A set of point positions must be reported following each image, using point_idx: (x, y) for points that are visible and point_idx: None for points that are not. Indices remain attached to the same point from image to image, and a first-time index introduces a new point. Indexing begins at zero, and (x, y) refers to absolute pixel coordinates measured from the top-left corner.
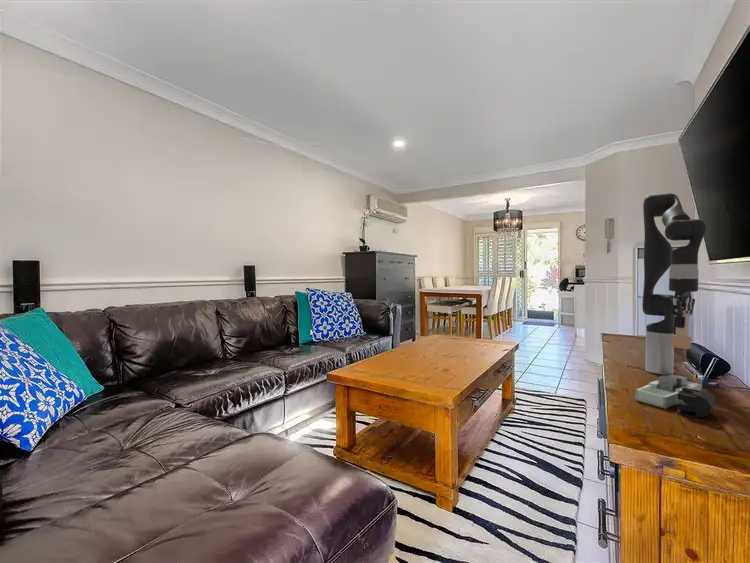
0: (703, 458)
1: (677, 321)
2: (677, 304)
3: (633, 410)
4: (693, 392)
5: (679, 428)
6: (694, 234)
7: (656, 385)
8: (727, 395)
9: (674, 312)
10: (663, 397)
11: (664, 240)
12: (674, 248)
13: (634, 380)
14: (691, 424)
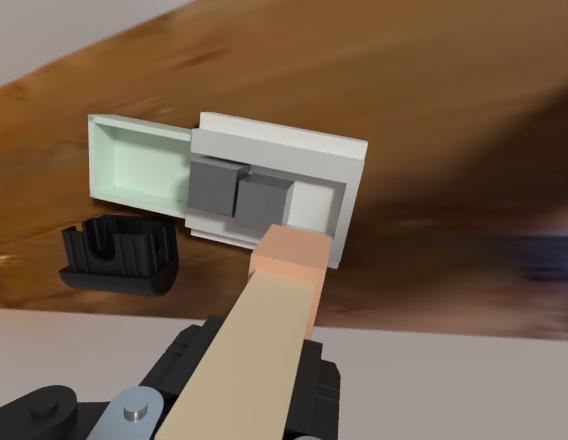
0: None
1: (163, 361)
2: None
3: (26, 135)
4: (109, 261)
5: (11, 228)
6: None
7: (198, 152)
8: (420, 301)
9: (12, 429)
10: (91, 190)
11: None
12: None
13: (388, 30)
14: (56, 243)
